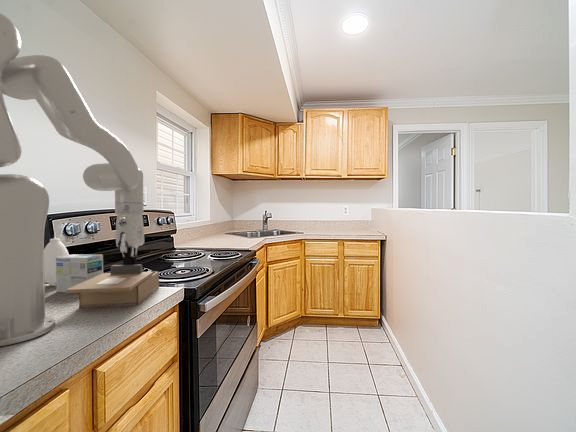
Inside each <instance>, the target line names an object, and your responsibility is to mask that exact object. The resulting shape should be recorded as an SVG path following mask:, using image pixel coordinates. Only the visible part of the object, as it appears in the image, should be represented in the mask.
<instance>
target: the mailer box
mask: <svg viewBox="0 0 576 432" xmlns="http://www.w3.org/2000/svg"><path fill="white" fill-rule="evenodd" d="M152 272H153V275H152V276H150V277H149V278H147V279H146V280H144V281H143V282H142V283H140V284H139V285H137V286H136V287H134V288H133V289H132V290H130V291H109V292H83V293H78V295H79V296H78V308H79V309H85V308H105V307H106V308H109V307H110V308H111V307H129V306H139V305H141V303H142V301H143V302H144V301H145V300H146V299H147V298H148V297H150V294H151V293H152V292H153V291H154V292H156V290H157V289H158V288H159V287H160V271H152ZM154 292H153V293H154ZM153 293H152V294H153ZM152 294H151V295H152Z"/></svg>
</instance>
